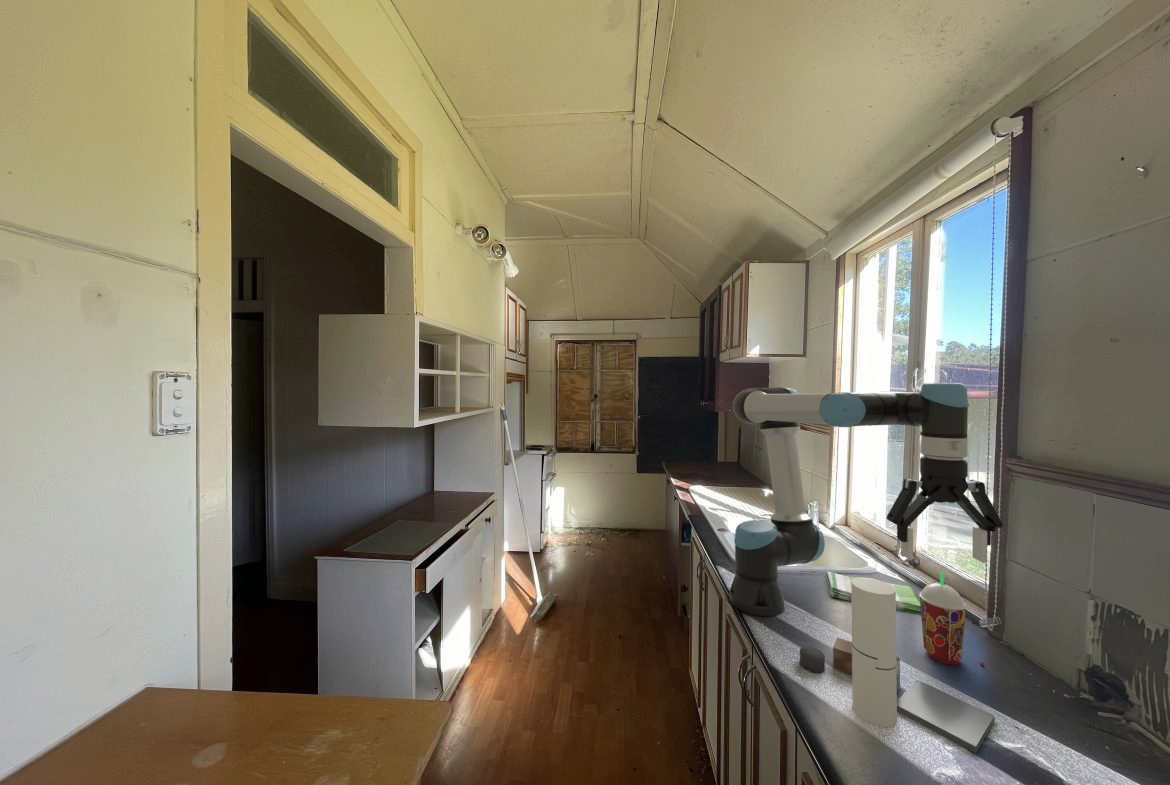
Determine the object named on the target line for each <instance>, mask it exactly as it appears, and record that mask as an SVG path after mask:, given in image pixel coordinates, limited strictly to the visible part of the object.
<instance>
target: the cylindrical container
mask: <svg viewBox="0 0 1170 785" xmlns="http://www.w3.org/2000/svg"><path fill="white" fill-rule="evenodd" d="M888 583H889V582H886V581H883V580H880V579H877V578H870V577H863V576H861V577H860V576H859V577H855V578H854V579H852V580H851V594H852V601H851V642H852V676H851V677H852V678H851V679H852V684H851V685H852V690H851V691H852V693H851V694H852V698H851V700H852V709H853V711H854V712H855V714H856V715H857V716H859V717H860V718H861V719H862V720H864V721H866V722H867V723H869V724H871V725H873V726H877V727H882V728H892V727H894V726H896V725H897V723H898V712H897V701H898V698H897V697H898V696H897V693H898V692H897V678H896V656H897V613H896V612H897V610H896V590H895V588H894V587H893V586H891V585H890V584H891V583H889V584H888Z"/></svg>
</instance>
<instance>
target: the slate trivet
mask: <svg viewBox="0 0 1170 785" xmlns="http://www.w3.org/2000/svg"><path fill="white" fill-rule="evenodd" d="M897 713H900V714H901V715H903V716H905V717H907V718H909V719H910V720H912V721H915V722H916V723H918V724H920V725H922V726H924V727H926V728H927V729H929V730H931V731H932V732H935V733H937V734H939V735H941V736H942V737H944V738H946V739H948V740H949V741H952V742H954V743H955V744H957V745H959V746H960V747H961V746H962V747H963V748H965V749H967V750H968V751H970V752H973V753H975V754H977V752H978V751H979V749H980V747H981V746H982V744H983V742H984V741H985V739H986V737H987V735H988V734H989V732H990V731H991V729H992V727H993V725H994V724H995V717H996V716H995V714H992V713H990V712H988V711H986V710H983V709H982V708H980V707H977V706H975V705H972V704H971V703H969V702H967V701H964V700H962V699H960V698H958V697H955V696H954V695H951V694H949V693H947V692H945V691H943V690H940V689H939V688H936V687H934V686H932V685H930V684H928V683H925V682H923V681H921V680H919V679H916V680H915V681H914V682H913V683H912V684H911V686H909V688H907V689H906V690H905V692H904V693H903V694H902V695H901V696H900V697H899V698H897Z"/></svg>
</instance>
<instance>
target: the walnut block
mask: <svg viewBox="0 0 1170 785" xmlns="http://www.w3.org/2000/svg"><path fill="white" fill-rule="evenodd" d="M832 662H833V663H832V664H833V666H832V668H833V670H835V671H837V672H840V673H843V674H846V675H849V676H851V677H852V641H850V640H846V639H843V638H840V637H838V636H836V639H835V642H834V644H833V647H832Z"/></svg>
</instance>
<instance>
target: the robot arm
mask: <svg viewBox="0 0 1170 785" xmlns="http://www.w3.org/2000/svg"><path fill="white" fill-rule="evenodd" d="M968 400H969V399H968V389H967V386H966V385H965V384H963V383H961V382H943V383H942V382H941V383H940V382H939V383H938V382H933V383H922V384H921V385H920V388H919V391H917V392H916V391H915V392H909V391H908V392H903V391H877V392H876V391H875V392H874V391H873V392H845V391H843V392H842V391H841V392H823V393H822V392H817V393H816V392H814V393H813V392H811V393H809V392H808V393H807V392H806V393H805V392H804V393H799V392H798V391H797V390H795V389H794V388H790V387H783V386H781V387H751V388H745V389H743V390H741V391H740V392H738V394H736V396H735V397H734V398H733V401H732V411H733V414H734V416H735V417H736V419H738V420H739V421H740V422H742V423H745V424H747V425H757V426H758V425H759V431H760V432H761V433H762V434H763V435H765V438H766V447H767V454H768V462H769V463H768V464H769V470H770V472H769V473H770V480H771V487H772V495H773V496H772V497H773V503H774V504H773V506H774V513H773V514H772V515H771V516H770V521H769V520H768V521H767V520H764V519H760V520H756V519H751V520H745V521H743V522H741V523H739V524H737V525H736V528H735V534H734V553H735V554H734V557H735V558H734V561H735V562H734V563H735V564H734V566H735V575H734V576H733V580H732V583H731V586H730V589H729V601H730V602H729V603H731V605H732V606H734V607H735V608H736V609H738V610H740V611H742V612H745V613H747V614H750V615H754V616H759V617H760V616H761V617H774V616H777V615H780V614H782V613H783V612H784V611H785V598H784V595H783V593H782V589H781V586H780V583H779V581H778V580H779V579H778V577H779V576H778V573H779V572H778V567H785V566H792V565H799V564H804V565H805V564H809V563H810V562H815V561H817V560H819V558H820V557H821V556H822V555H823V553H824V550H825V544H826V543H825V542H826V541H825V537H824V533H823V532H822V530H820V527H819V526H818V525H817V524H816V523H815V522H813V517H812V516H811V515H810V514H808V513H807V511H806V503H805V494H804V487H803V482H802V473H801V465H800V459H799V458H800V456H799V452H798V442H797V436H796V435H797V432H798V431H799V430H800V429H801V425H800V424H801V423H802V424H815V425H816V424H817V425H828V426H832V427H838V428H852V427H865V426H867V427H869V426H870V427H871V426H892V425H893V426H910V427H911V426H913V427H919V435H920V437H919V453H920V454H921V455H922V456H920V457H919V473H920V479H919V480H914V479H911V478H907V477H905V478H904V479H903V482H902V489H901V490H900V492H899V494H898V495H897V497H896V500H894V503H893V505H892V507H891V508H890V510H889V511H888V513H887V515H886V520H887V521H889V522H891V523H893V524H894V525H896V538H897V540H898V541H900V555H902V556H903V557H905V558H906V559H907V560H911V561H912V560H914V528H913V527H911V526H910V525H912V523H913V522H915V520H916V519H917V518H918V517H919V516H920V515H921V514H922V513H923V512H924V511H925V510H926V509H927V508H928V507H929V506H931V505H933V504H934V503H935V502H936V503H938V504H939V503H940V504H941V503H950V504H955V503H956V504H957V505H958V506H959V507H960V508H961V509H962V510H963V512H964V513H966V515H967V516H968V517H969V518H970V519H971V520H972V521H973V523H975V524H976V525H977V526H972V558H973V559H974V560H976V561H979V562H980V563H982V564H988V546H991V544H992V533H994V532H996V531H997V528H999V529H1001V528H1003V527H1004V524H1003V522H1002V519H1001V518H1000V516H999V514H998V513H997V511H996V508H995V507H994V506H993V504H992V502H991V500H990V498H989V497H988V494H987V492H986V485H985V483H984V482H982V481H979V480H976V479H970V480H968V481H967V478H968V476H969V474H968V472H969V470H968V469H969V467H968V465H969V463H968V460H967V459H965V458H967V457H968V453H969V452H968V450H969V449H968V445H969V444H968V440H969V438H968V419H969V418H968V413H969V407H970V406H969V402H968ZM919 489H921V490H920V492H918V494H917V495H916V492H917V491H919ZM967 490H968V491H969V492H970V494H971V496H972V497H973V499H974V502H975V503H976V505H977V506H978V509H979V510H978V509H977V508H976V507H975V506H974V504H973V503H972V501H971V500H970V499H969V497H967V495H965V493H966V492H967ZM915 495H916V498H915V499H914V497H915ZM913 499H914V500H913ZM911 502H912V503H911Z"/></svg>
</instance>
